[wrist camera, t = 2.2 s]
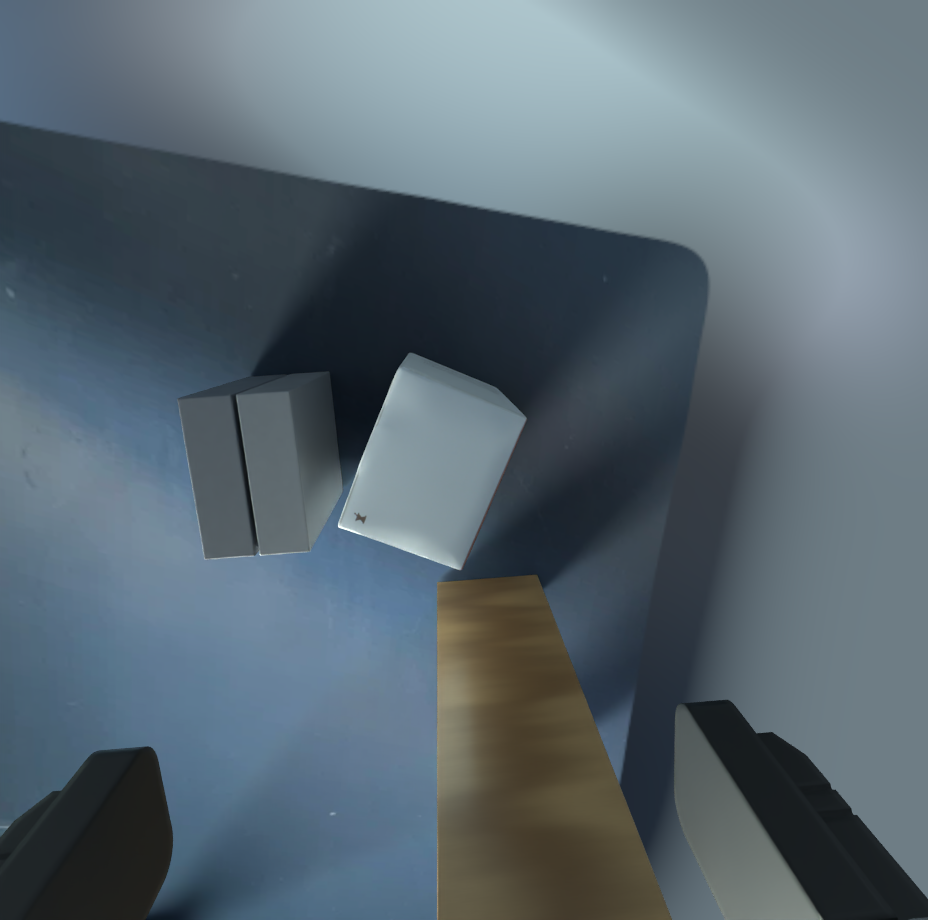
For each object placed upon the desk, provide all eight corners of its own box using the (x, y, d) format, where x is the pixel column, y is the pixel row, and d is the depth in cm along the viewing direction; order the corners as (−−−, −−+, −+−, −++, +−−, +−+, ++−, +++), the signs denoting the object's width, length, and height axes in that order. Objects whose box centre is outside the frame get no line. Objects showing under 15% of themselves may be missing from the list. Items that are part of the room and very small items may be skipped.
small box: (453, 497, 41) (461, 576, 29) (365, 464, 41) (332, 529, 28) (500, 386, 40) (530, 417, 27) (409, 348, 39) (396, 362, 26)
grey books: (329, 371, 39) (289, 390, 29) (343, 491, 41) (310, 552, 30) (247, 376, 39) (176, 398, 28) (265, 497, 41) (204, 560, 30)
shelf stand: (537, 574, 43) (720, 1039, 15) (544, 759, 46) (705, 1416, 19) (437, 582, 43) (436, 1067, 15) (452, 767, 46) (474, 1443, 18)
